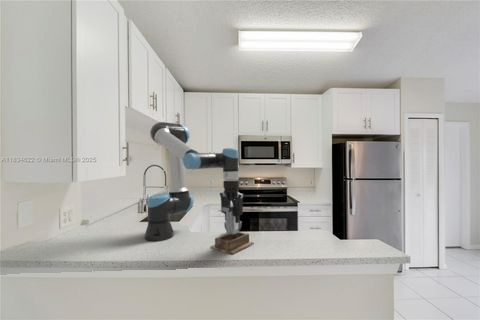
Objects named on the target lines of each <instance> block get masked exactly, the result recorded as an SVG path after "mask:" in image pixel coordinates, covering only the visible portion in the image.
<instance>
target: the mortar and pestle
mask: <svg viewBox="0 0 480 320" xmlns="http://www.w3.org/2000/svg"><path fill="white" fill-rule="evenodd" d="M242 223H243V221H241V220H239V222H238V232H241V230H242V229H241V228H242ZM223 224H224V229H225V230H226V221H224V223H223Z"/></svg>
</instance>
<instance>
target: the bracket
mask: <svg viewBox="0 0 480 320" xmlns="http://www.w3.org/2000/svg"><path fill="white" fill-rule="evenodd" d="M222 211H223V212H226V229H225V231H226V233H225V234H232V235H233V234H236V233H238V229H236V230H234V223H233V216H234V215H235V214H234V209H233V204H230V205H229V206H225V207H222ZM222 211H221V212H222Z"/></svg>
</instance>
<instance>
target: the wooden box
mask: <svg viewBox="0 0 480 320" xmlns="http://www.w3.org/2000/svg"><path fill="white" fill-rule="evenodd" d="M252 244H253V245H254V244H255V242H253V241H250V233H245V232H242V231H239V232H238V233H236V234H233V235H232V234H228V233H225V234H223V235H220V236H218V237H215V238H214V244H213V245H211V246H210V249H212V248H213V250H215V249H216V251H219V252H222V251H223V253H226V254H230V255H235V254H238V253H239V252H241V251H244V250H245V249H247V248H249V247H251V246H253V245H252ZM250 245H251V246H250Z"/></svg>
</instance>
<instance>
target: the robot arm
mask: <svg viewBox="0 0 480 320" xmlns="http://www.w3.org/2000/svg"><path fill="white" fill-rule="evenodd" d="M149 131H150V132H149V133H150V135H149V136H150V137H151V139H152V140H153V142H155V143H156V144H158V145H161V146H163V147H164V148H166V149H167V150H168V155H169V171H170V172H169V174H170V187H171V188H170V190H169V191H168V192H162V193H157V194H153V195H151V196H149V197H148V199H147V204H146V205H147V227H146V230H145V233H144V240H145V241H149V242H156V241H157V242H159V241H166V240H168V239H171V238H173V237H174V234H175V231H174V230H173V226H172V223H171V216H175V215H179V214H184V213H187V212H190V211H191V210H192V208H193V206H194V197H193V194H192V193H190V192H189V191H190V190H189V189H188V188H187V184H186V183H187V182H186V180H187V179H186V169H187V170H200V169H201V170H203V169H205V170H206V169H222V176H223V177H222V178H223V182H222V183H223V185H222V186H223V189H224V190H223V192H220V193H219V196H220V204H221V206H220V207H221V208H220V209H221V213H222V214H224V220H225V221H226V212H223V211H222V207H225V206H229V205H233V209H234V214H235V215H234V216H233V223H234V230H236V229H238V222H239V221H240V216H241V215H243V212H244V210H243V208H244V207H243V206H244V205H243V204H244V202H243V201H244V196H245V194H244V193H240V192H239V188H240V181H239V179H240V176H239V174H240V172H239V171H240V170H239V152H238V149H237V148H236V147H235V148H234V147H233V148H232V147H230V148H228V147H227V148H223V149H222V152H216V153H214V152H213V153H212V152H210V153H209V152H207V153H206V152H198V151H197V150H195V149H194V148H193V147H191V146H190V145H188V144H187V143H188V142H189V139H190V131H189V129H188V127H187V126H186V125H184V124H181V123H173V122H166V121H159V122H157V123H155V124H153V125H152V127H151V129H150V130H149ZM225 221H224V222H225Z"/></svg>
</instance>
